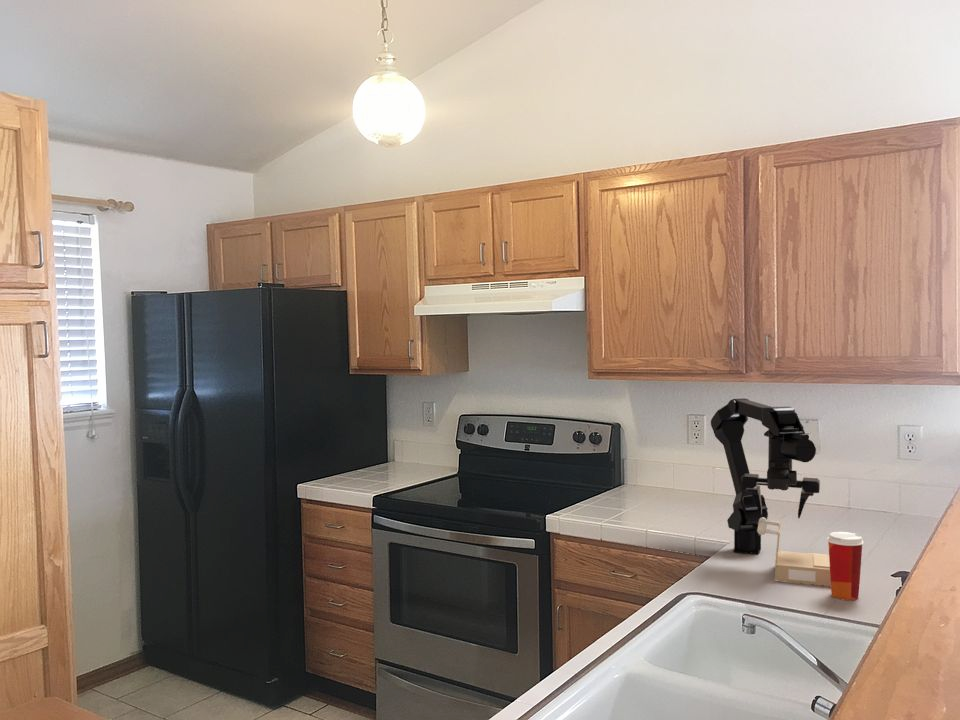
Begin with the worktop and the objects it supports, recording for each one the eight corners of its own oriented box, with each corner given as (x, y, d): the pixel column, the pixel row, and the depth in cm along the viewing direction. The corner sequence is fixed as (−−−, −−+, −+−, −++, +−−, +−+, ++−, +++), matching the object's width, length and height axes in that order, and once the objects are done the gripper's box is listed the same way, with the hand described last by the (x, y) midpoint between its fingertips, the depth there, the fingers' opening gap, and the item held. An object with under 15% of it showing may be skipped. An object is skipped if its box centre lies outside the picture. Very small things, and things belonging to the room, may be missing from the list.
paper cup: (853, 590, 190) (853, 530, 189) (870, 601, 182) (870, 539, 182) (820, 591, 189) (820, 531, 189) (835, 602, 182) (835, 540, 181)
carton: (775, 581, 197) (775, 563, 197) (776, 566, 209) (776, 549, 209) (847, 588, 191) (847, 569, 191) (844, 572, 204) (844, 554, 203)
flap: (777, 561, 198) (754, 557, 200) (778, 549, 208) (756, 546, 210) (780, 529, 197) (757, 526, 199) (781, 519, 208) (759, 516, 209)
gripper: (738, 458, 205) (737, 520, 206) (818, 463, 197) (817, 527, 198) (743, 451, 215) (743, 510, 216) (820, 456, 207) (819, 517, 208)
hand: (779, 516), depth 209 cm, fingers open, 9 cm apart
